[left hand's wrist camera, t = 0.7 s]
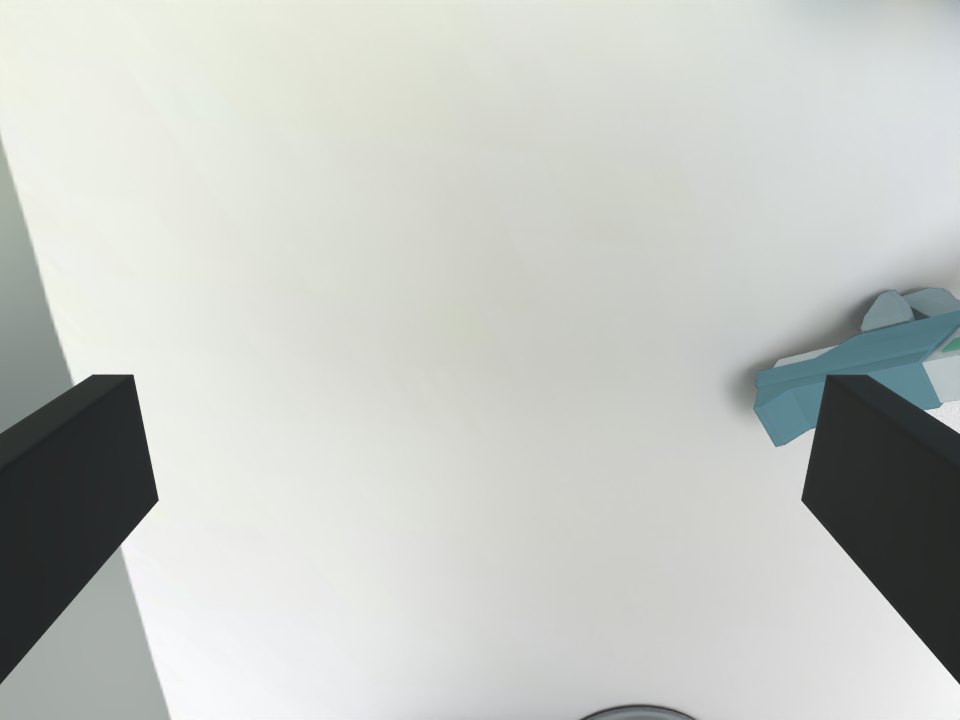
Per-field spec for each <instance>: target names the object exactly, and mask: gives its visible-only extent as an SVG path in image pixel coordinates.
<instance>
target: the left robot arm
mask: <svg viewBox="0 0 960 720" xmlns="http://www.w3.org/2000/svg"><path fill="white" fill-rule="evenodd" d="M158 501H159V499H158V494H157V489H156V484H155V479H154V474H153V469H152V464H151V460H150V455H149V450H148V445H147V440H146V435H145V430H144V425H143V420H142V415H141V410H140V405H139V400H138V395H137V390H136V385H135V380H134V375H91V376H90V377H88V378H87V379H85V380H84V381H82V382H81V383H79V384H77V385H76V386H74V387H73V388H71V389H70V390H68V391H67V392H65V393H63V394H62V395H60V396H59V397H57V398H56V399H54V400H52V401H51V402H49V403H48V404H46V405H45V406H43V407H41V408H40V409H38V410H37V411H35V412H34V413H32V414H31V415H29V416H27V417H26V418H24V419H23V420H21V421H20V422H18V423H17V424H15V425H13V426H12V427H10V428H9V429H7V430H6V431H4V432H2V433H1V434H0V684H1V683H2V682H3V680H4V679H5V678H6V677H7V676H8V675H9V674H10V672H11V671H12V670H13V669H14V668H15V667H16V666H17V664H18V663H19V662H20V661H21V660H22V659H23V657H24V656H25V655H26V654H27V653H28V651H29V650H30V649H31V648H32V647H33V646H34V645H35V643H36V642H37V641H38V640H39V639H40V638H41V636H42V635H43V634H44V633H45V632H46V631H47V629H48V628H49V627H50V626H51V625H52V624H53V622H54V621H55V620H56V619H57V618H58V617H59V616H60V614H61V613H62V612H63V611H64V610H65V609H66V607H67V606H68V605H69V604H70V603H71V602H72V600H73V599H74V598H75V597H76V596H77V595H78V593H79V592H80V591H81V590H82V589H83V588H84V586H85V585H86V584H87V583H88V582H89V581H90V579H91V578H92V577H93V576H94V575H95V574H96V573H97V571H98V570H99V569H100V568H101V567H102V566H103V564H104V563H105V562H106V561H107V560H108V559H109V557H110V556H111V555H112V554H113V553H114V552H115V550H116V549H117V548H118V547H119V546H120V545H121V544H122V542H123V541H124V540H125V539H126V538H127V537H128V535H129V534H130V533H131V532H132V531H133V530H134V528H135V527H136V526H137V525H138V524H139V523H140V521H141V520H142V519H143V518H144V517H145V516H146V514H147V513H148V512H149V511H150V510H151V509H152V507H153V506H154V505H155V504H156V503H157V502H158ZM801 501H802V502H803V503H804V504H805V505H806V506H807V507H808V509H809V510H810V511H811V512H812V513H813V514H814V516H815V517H816V518H817V519H818V520H819V521H820V523H821V524H822V525H823V526H824V527H825V528H826V530H827V531H828V532H829V533H830V534H831V535H832V537H833V538H834V539H835V540H836V541H837V542H838V544H839V545H840V546H841V547H842V548H843V549H844V550H845V552H846V553H847V554H848V555H849V556H850V557H851V559H852V560H853V561H854V562H855V563H856V564H857V566H858V567H859V568H860V569H861V570H862V571H863V573H864V574H865V575H866V576H867V577H868V578H869V580H870V581H871V582H872V583H873V584H874V585H875V586H876V588H877V589H878V590H879V591H880V592H881V593H882V595H883V596H884V597H885V598H886V599H887V600H888V602H889V603H890V604H891V605H892V606H893V607H894V609H895V610H896V611H897V612H898V613H899V614H900V616H901V617H902V618H903V619H904V620H905V621H906V623H907V624H908V625H909V626H910V627H911V628H912V629H913V631H914V632H915V633H916V634H917V635H918V636H919V638H920V639H921V640H922V641H923V642H924V643H925V645H926V646H927V647H928V648H929V649H930V650H931V652H932V653H933V654H934V655H935V656H936V657H937V659H938V660H939V661H940V662H941V663H942V664H943V666H944V667H945V668H946V669H947V670H948V671H949V672H950V674H951V675H952V676H953V677H954V678H955V679H956V681H957V682H958V683H959V684H960V434H959V433H958V432H956V431H954V430H953V429H951V428H950V427H948V426H947V425H945V424H944V423H942V422H940V421H939V420H937V419H936V418H934V417H933V416H931V415H929V414H928V413H926V412H925V411H923V410H922V409H920V408H919V407H917V406H915V405H914V404H912V403H911V402H909V401H908V400H906V399H904V398H903V397H901V396H900V395H898V394H897V393H895V392H894V391H892V390H890V389H889V388H887V387H886V386H884V385H883V384H881V383H879V382H878V381H876V380H875V379H873V378H872V377H870V376H869V375H826V380H825V385H824V390H823V395H822V400H821V405H820V410H819V415H818V420H817V425H816V430H815V435H814V440H813V445H812V450H811V455H810V460H809V464H808V469H807V474H806V479H805V484H804V489H803V494H802V499H801ZM585 720H693V719H691V718H689V717H687V716H685V715H682V714H680V713H677V712H673V711H670V710H665V709H660V708H652V707H629V708H621V709H615V710H611V711H607V712H603V713H600V714H597V715H595V716H592V717H590V718H588V719H585Z"/></svg>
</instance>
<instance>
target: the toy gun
mask: <svg viewBox="0 0 960 720" xmlns="http://www.w3.org/2000/svg"><path fill="white" fill-rule="evenodd" d="M861 331H862V334H860V335H856V336H853V337H852V338H850V339H848V340H846V341H845V342H843V343H841V344H839V345H836V346H832V347H828V348H824V349H819V350H815V351H811V352H807V353H803V354H799V355H795V356H791V357H786V358H782V359H779V360H778V361H777V362H776V364H775V365H774V367H773V368H771V369H766V370H762V371H758V374H757V378H756V381H755V385H756V387H757V389H758V393H757V396H756V400H755V404H754V408H753V409H754V411H755V412H756V414H757V416H758V418H759V419H760V421H761V423H762V424H763V426H764V428H765V430H766V431H767V433H768V435H769V436H770V438H771V440H772V442H773V443H774V445H775V447H778V446H782V445H785V444H787V443H789V442H790V441H792V440H793V439H795V438H797V437H798V436H800V435H801V434H803V433H805V432H806V431H808V430H810V429H812V428H816V425H817V420H818V415H819V410H820V405H821V400H822V395H823V390H824V385H825V380H826V375H869V376H870V377H872V378H873V379H875V380H876V381H878V382H879V383H881V384H883V385H884V386H886V387H887V388H889V389H890V390H892V391H894V392H895V393H897V394H898V395H900V396H901V397H903V398H904V399H906V400H908V401H909V402H911V403H912V404H914V405H915V406H917V407H919V408H920V409H922V410H928V409H934V408H939V407H940V406H941V405H942V404H943V403H945V402H951V401H957V400H960V300H957V299H956V298H955V297H954V296H953V295H952V294H951V293H950V292H949V291H947V290H945V289H942V288H926V289H923V290H920V291H917V292H913V293H910V294H907V295H903V296H901V295H900V294H899V293H898V292H897V291H896V290H892V291H888V292H885V293H881V294H880V295H879V296H878V298H877V299H876V301H875V302H874V303H873V305H872V306H871V308H870V309H869V311H868V312H867V313H866V315H865V317H864V320H863V323H862V326H861Z"/></svg>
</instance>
